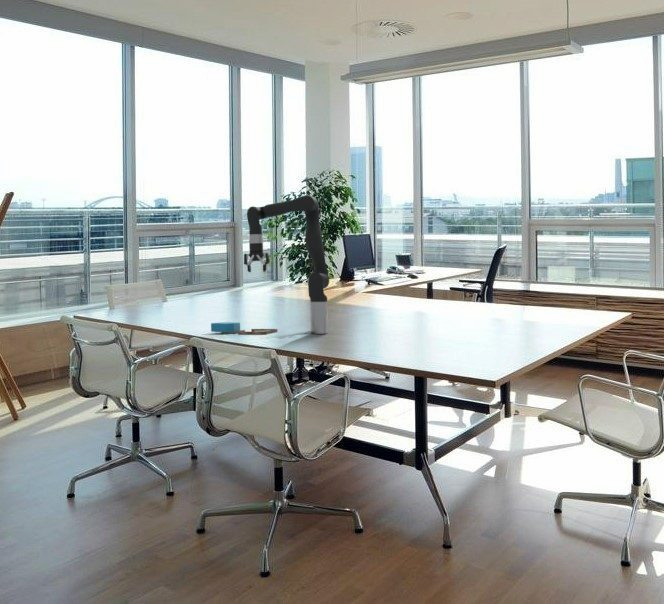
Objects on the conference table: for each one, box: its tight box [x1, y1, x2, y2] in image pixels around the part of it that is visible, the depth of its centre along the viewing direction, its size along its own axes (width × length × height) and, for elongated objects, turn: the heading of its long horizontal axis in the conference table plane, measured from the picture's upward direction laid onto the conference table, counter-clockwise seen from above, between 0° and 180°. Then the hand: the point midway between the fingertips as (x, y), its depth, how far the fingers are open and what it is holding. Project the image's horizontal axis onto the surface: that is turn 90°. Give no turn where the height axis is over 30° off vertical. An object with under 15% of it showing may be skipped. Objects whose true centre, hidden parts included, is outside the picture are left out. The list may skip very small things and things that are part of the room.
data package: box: [210, 321, 241, 333], centre depth 395 cm, size 12×4×12 cm
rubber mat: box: [220, 329, 246, 335], centre depth 396 cm, size 8×14×1 cm, turn 165°
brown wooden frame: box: [238, 328, 278, 336], centre depth 392 cm, size 15×20×2 cm
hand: (257, 272), depth 409 cm, fingers open, 8 cm apart
